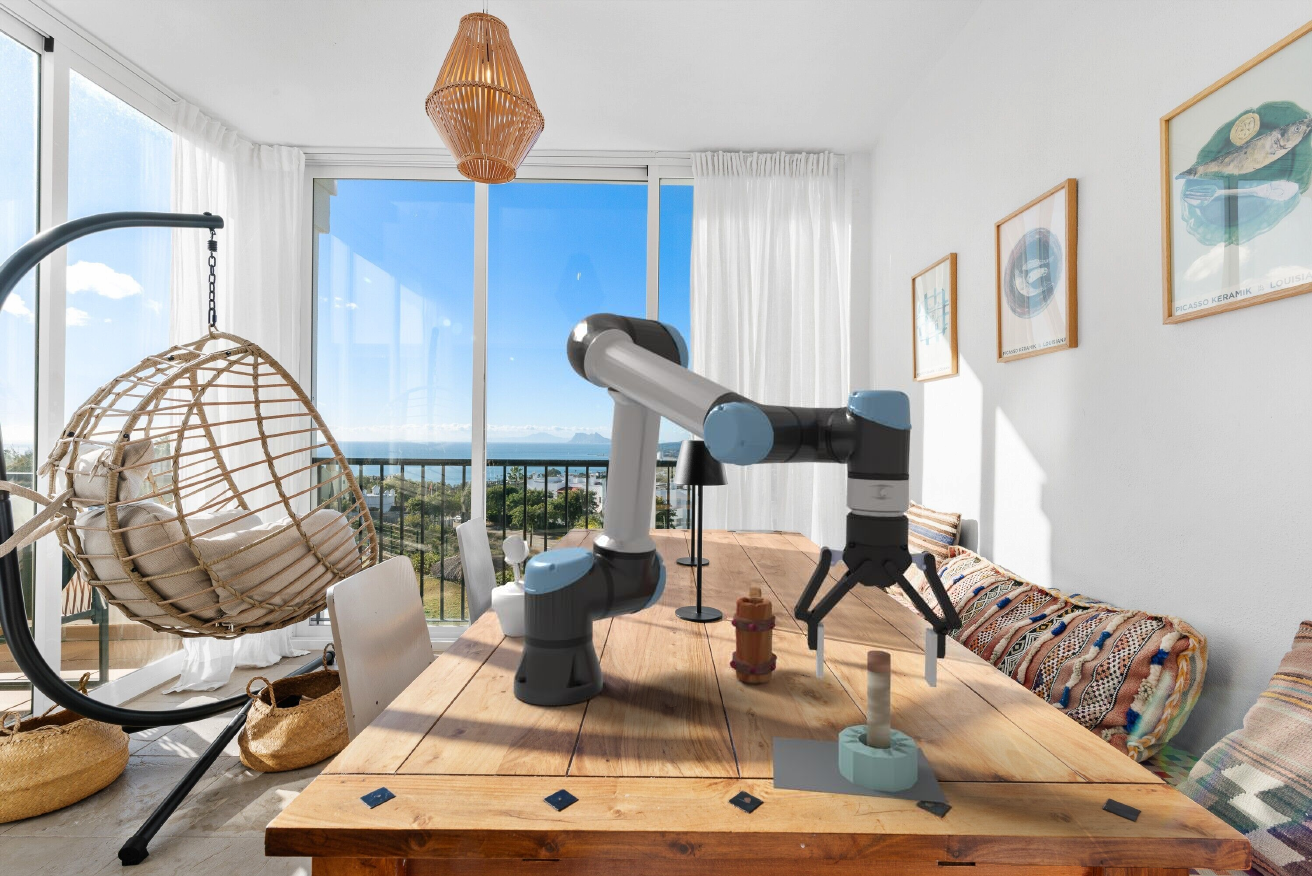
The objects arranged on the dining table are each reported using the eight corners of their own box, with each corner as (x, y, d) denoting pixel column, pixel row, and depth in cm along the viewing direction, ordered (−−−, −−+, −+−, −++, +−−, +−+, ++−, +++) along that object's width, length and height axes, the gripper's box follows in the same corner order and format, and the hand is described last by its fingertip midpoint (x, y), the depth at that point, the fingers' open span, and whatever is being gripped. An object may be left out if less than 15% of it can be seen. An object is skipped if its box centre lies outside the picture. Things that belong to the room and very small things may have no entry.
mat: (773, 792, 80) (773, 787, 80) (772, 741, 94) (772, 737, 94) (948, 807, 77) (948, 802, 77) (920, 752, 91) (920, 748, 91)
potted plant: (534, 642, 141) (535, 524, 141) (482, 639, 142) (483, 522, 143) (553, 626, 153) (553, 517, 153) (505, 624, 155) (505, 516, 155)
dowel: (867, 776, 83) (868, 656, 83) (865, 766, 86) (866, 649, 86) (891, 779, 82) (891, 658, 83) (888, 768, 85) (889, 651, 85)
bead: (843, 787, 80) (843, 754, 80) (835, 752, 90) (835, 723, 90) (923, 794, 79) (923, 760, 79) (907, 758, 88) (907, 727, 88)
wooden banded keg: (776, 691, 113) (776, 602, 114) (728, 687, 115) (728, 600, 115) (778, 663, 128) (778, 584, 128) (735, 660, 129) (735, 582, 129)
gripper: (777, 512, 83) (775, 682, 83) (992, 519, 79) (988, 698, 79) (777, 505, 90) (774, 661, 90) (972, 512, 86) (969, 675, 86)
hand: (874, 679), depth 85 cm, fingers open, 13 cm apart
